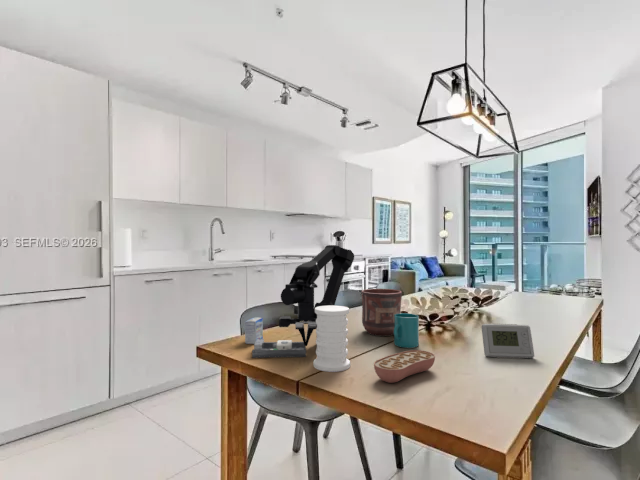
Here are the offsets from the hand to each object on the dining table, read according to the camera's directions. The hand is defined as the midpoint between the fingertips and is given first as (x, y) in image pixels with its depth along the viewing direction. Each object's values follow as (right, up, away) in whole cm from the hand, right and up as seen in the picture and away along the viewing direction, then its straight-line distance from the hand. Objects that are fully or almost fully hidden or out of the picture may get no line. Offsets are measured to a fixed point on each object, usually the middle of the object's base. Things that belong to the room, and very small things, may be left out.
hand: (305, 345), depth 131 cm
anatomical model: (+30, -3, -22) cm, 37 cm away
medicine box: (-21, -3, +15) cm, 26 cm away
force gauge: (-8, -1, -1) cm, 8 cm away
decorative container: (+9, -3, -14) cm, 16 cm away
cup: (+37, -3, +9) cm, 38 cm away
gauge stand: (-9, -2, -1) cm, 9 cm away
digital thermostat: (+69, -3, -4) cm, 69 cm away
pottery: (+31, -3, +30) cm, 43 cm away
